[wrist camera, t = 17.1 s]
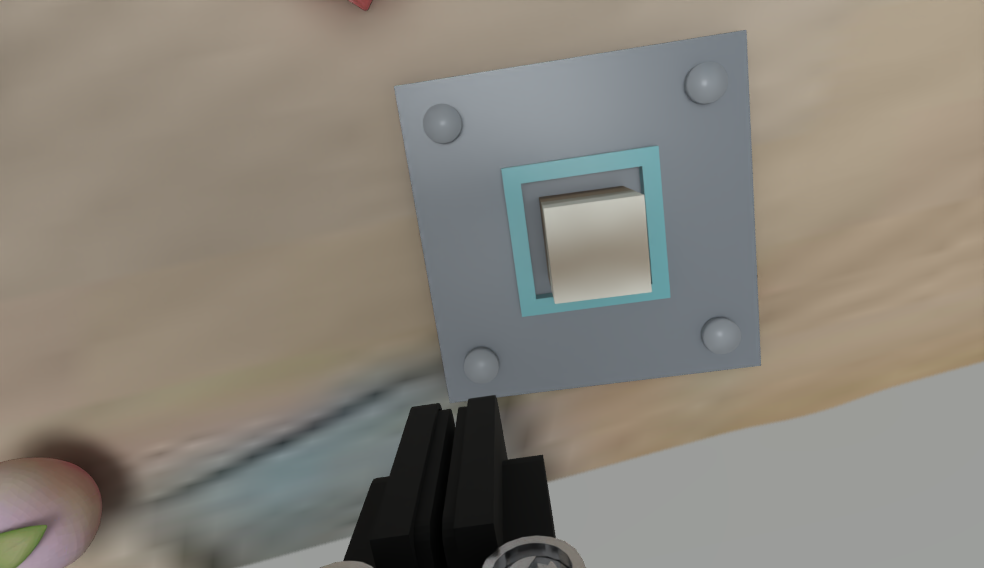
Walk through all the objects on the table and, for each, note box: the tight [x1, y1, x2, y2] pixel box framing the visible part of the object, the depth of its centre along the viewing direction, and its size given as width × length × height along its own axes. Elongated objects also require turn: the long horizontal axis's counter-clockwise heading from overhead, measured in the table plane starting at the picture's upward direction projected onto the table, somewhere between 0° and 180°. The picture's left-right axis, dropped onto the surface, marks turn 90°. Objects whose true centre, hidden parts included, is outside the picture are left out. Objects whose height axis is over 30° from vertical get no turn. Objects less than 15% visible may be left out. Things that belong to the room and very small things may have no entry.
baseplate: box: [394, 30, 761, 403], centre depth 36 cm, size 20×20×2 cm
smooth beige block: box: [539, 186, 652, 304], centre depth 33 cm, size 5×5×6 cm
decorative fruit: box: [0, 457, 102, 568], centre depth 38 cm, size 9×8×10 cm
